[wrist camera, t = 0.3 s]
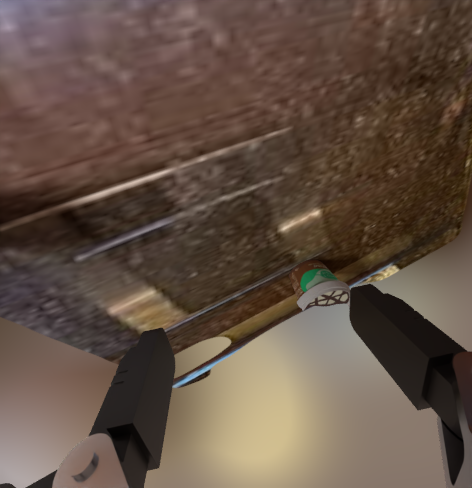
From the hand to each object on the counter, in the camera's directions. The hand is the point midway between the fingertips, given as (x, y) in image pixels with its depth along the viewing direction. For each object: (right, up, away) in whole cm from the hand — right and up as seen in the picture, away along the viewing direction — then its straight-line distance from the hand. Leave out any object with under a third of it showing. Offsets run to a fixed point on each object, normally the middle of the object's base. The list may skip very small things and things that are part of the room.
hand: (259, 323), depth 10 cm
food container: (+16, -2, +44) cm, 47 cm away
